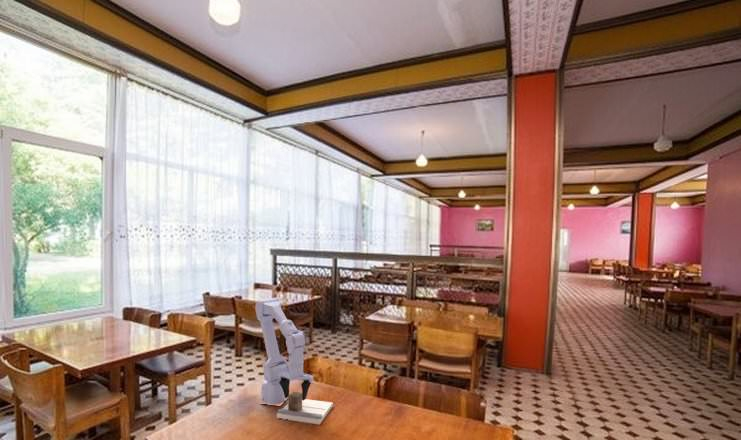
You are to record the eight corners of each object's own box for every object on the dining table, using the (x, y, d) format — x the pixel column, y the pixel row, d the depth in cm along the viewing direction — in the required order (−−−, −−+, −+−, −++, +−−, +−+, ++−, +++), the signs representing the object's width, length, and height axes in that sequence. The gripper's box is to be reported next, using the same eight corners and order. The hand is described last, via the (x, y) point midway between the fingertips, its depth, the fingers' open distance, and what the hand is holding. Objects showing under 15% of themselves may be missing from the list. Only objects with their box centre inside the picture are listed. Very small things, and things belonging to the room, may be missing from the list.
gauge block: (288, 411, 132) (288, 396, 132) (293, 406, 136) (293, 391, 136) (297, 413, 131) (297, 397, 131) (302, 408, 135) (302, 392, 135)
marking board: (276, 418, 130) (276, 411, 130) (293, 401, 143) (293, 395, 143) (319, 424, 125) (319, 417, 125) (332, 406, 139) (332, 400, 139)
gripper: (274, 365, 132) (274, 400, 131) (308, 368, 128) (308, 405, 128) (283, 359, 139) (282, 392, 138) (315, 362, 135) (315, 396, 134)
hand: (295, 398), depth 133 cm, fingers open, 7 cm apart
